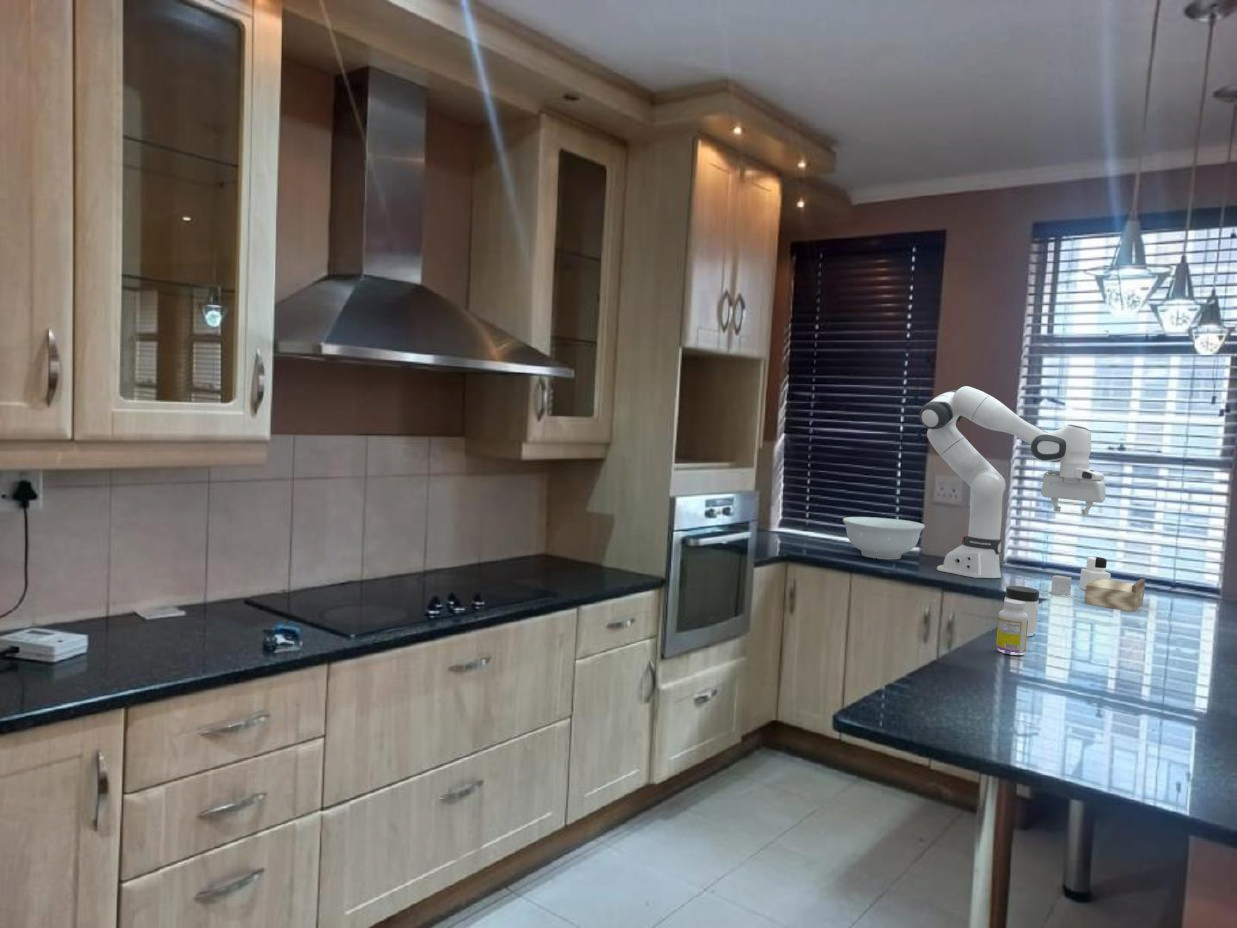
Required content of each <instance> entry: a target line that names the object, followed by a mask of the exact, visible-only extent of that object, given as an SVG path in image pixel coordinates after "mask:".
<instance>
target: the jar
mask: <svg viewBox="0 0 1237 928" xmlns="http://www.w3.org/2000/svg"><path fill="white" fill-rule="evenodd" d="M1039 598H1040V591H1039V590H1038V589H1036V588H1032V587H1026V586H1019V585H1007V586H1006V588H1005V597H1004V600H1007V599H1009V600H1018V601H1022V602H1025V608H1024V612H1025V613H1026V614H1027V615H1028V629H1027V633H1034V632H1035V631H1036V632H1037V624H1038V615H1039V613H1038V612H1039V603H1040V602H1039V600H1040V599H1039ZM1004 608H1005V606H1004V605H1003V609H1004Z"/></svg>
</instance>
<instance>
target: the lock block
mask: <svg viewBox="0 0 1237 928" xmlns="http://www.w3.org/2000/svg"><path fill="white" fill-rule="evenodd" d="M1051 577H1052V578H1051V586H1050V594H1051V595H1053V596H1054V595H1055V596H1059V595H1065V596H1067V597H1069V596H1071V591H1072V590H1071V589H1072V578H1073V577H1071V576H1063V575H1059V574H1058V575H1053V576H1051ZM1068 595H1069V596H1068ZM1065 596H1064V597H1065Z"/></svg>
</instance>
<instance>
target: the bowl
mask: <svg viewBox="0 0 1237 928" xmlns="http://www.w3.org/2000/svg"><path fill="white" fill-rule="evenodd" d="M842 522H843V523H844V525H845V529H846V536H847V539H848V540H849V542H850V544H851V545H852V546H854V547H855V548H857V549H858V550H860V551H861V555H862V556H863V557H866V558H871V559H876V558H877V560H892V561H893V560H900V559H901V558H902V555H903V554H905V553H908V552H910V551H912V550H913V549H914V548H915V547H916V545H918V542H919V539H920V535H921V532H922V530H924V529H925V527H926V526H925V524H923V523H920V522H917V521H912V520H905V519H898V518H886V517H874V516H873V517H871V516H849V517H844V518H842Z"/></svg>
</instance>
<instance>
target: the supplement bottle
mask: <svg viewBox="0 0 1237 928" xmlns="http://www.w3.org/2000/svg"><path fill="white" fill-rule="evenodd" d="M1004 606H1005V608H1004ZM1024 608H1025V602H1022V601H1018V600H1009V599H1007V600H1004V601H1003V609H1001V610H1000V611H999V613H998V617H997V629H996V630H997V633H996V640H995V641H996V643H995V644H996V645H995V648H996V647H997V648H999V649H1000V650H1005V651H1008V652H1015V653H1024V652H1025V653H1027V638H1028V636H1027V629H1028V615H1027V614H1026V613H1025V612H1024Z"/></svg>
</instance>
